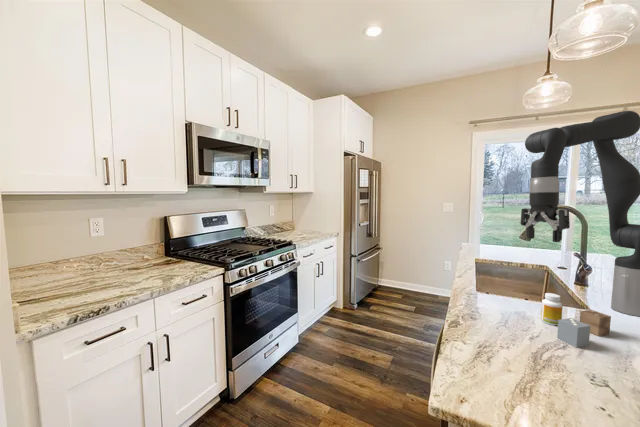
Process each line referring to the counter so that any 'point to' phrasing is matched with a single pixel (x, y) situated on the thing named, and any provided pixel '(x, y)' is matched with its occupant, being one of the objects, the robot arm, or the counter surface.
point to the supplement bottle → (551, 309)
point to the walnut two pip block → (596, 322)
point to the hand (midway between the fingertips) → (542, 240)
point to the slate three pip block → (573, 332)
